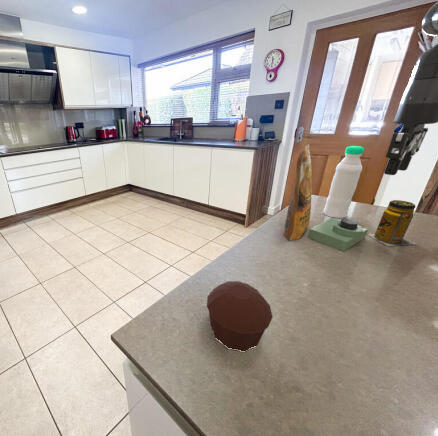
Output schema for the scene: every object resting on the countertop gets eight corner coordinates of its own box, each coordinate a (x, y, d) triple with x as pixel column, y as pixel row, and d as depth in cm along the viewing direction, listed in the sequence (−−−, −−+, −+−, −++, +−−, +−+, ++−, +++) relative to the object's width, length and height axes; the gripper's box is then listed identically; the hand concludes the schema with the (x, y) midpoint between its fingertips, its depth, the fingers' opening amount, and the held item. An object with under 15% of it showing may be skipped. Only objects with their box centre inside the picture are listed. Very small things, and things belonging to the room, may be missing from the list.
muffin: (271, 366, 39) (282, 324, 35) (203, 352, 42) (206, 312, 38) (260, 312, 49) (268, 274, 45) (207, 304, 52) (209, 267, 48)
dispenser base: (328, 226, 81) (332, 213, 79) (366, 238, 72) (372, 224, 70) (307, 237, 75) (311, 223, 73) (345, 252, 67) (351, 237, 65)
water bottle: (351, 218, 85) (375, 147, 74) (331, 219, 85) (353, 148, 75) (337, 210, 91) (358, 144, 81) (318, 211, 92) (337, 145, 81)
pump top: (343, 223, 73) (345, 217, 72) (358, 228, 70) (361, 221, 69) (336, 226, 71) (338, 220, 70) (352, 231, 68) (354, 225, 67)
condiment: (366, 234, 75) (379, 199, 70) (393, 233, 74) (409, 197, 69) (387, 246, 68) (404, 208, 63) (417, 245, 68) (436, 207, 63)
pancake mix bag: (273, 238, 76) (290, 150, 64) (290, 218, 88) (308, 140, 76) (296, 245, 71) (320, 151, 59) (311, 223, 83) (333, 141, 72)
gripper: (437, 101, 48) (404, 180, 55) (457, 99, 54) (425, 170, 61) (389, 103, 54) (364, 174, 61) (412, 100, 60) (387, 165, 67)
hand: (395, 171), depth 61 cm, fingers open, 6 cm apart
